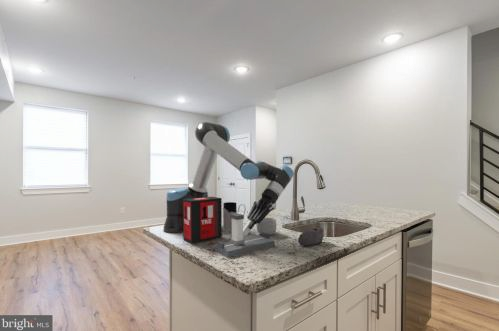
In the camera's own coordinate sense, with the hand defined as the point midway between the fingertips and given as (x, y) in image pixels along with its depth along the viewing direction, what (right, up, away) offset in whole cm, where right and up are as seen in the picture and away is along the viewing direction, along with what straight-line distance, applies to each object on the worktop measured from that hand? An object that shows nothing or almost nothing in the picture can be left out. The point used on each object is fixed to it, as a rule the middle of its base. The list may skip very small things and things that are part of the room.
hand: (243, 233), depth 107 cm
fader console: (+1, -6, +1) cm, 7 cm away
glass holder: (-6, -7, +36) cm, 37 cm away
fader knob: (-3, -4, -1) cm, 5 cm away
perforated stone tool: (+31, -7, +5) cm, 32 cm away
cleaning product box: (-21, -7, +15) cm, 27 cm away
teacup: (+12, -7, +25) cm, 28 cm away
